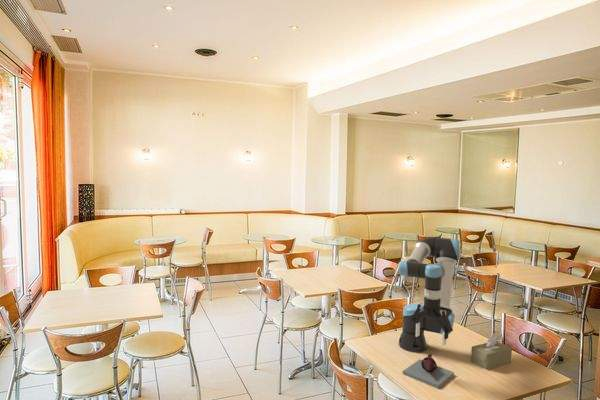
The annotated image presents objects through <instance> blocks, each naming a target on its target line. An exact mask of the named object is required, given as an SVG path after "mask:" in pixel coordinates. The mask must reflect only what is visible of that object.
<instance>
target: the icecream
mask: <svg viewBox="0 0 600 400" xmlns="http://www.w3.org/2000/svg"><path fill="white" fill-rule="evenodd" d="M432 356H433V355H432V353H429V354H427V356H426V357H424V358H423V359H421V360H422V362H421V364H422V368H423V369H424V370H426V371H427V372H433V371H434V370H436V368H437V366H438V364H437V361H436V360H435V359H434V358H433V357H432Z"/></svg>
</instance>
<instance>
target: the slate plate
mask: <svg viewBox="0 0 600 400" xmlns="http://www.w3.org/2000/svg"><path fill="white" fill-rule="evenodd" d="M422 360H423V359H418V360H416V361H415V362H414V363H412V364H410V365H409V366H407V367H406V368H405V369H404V370H402V375H404V376H407V377H409V378H411V379H414V380H416V381H419V382H421V383H424V384H426V385H429V386H431V387H433V388H436V389H440V388H441V387H442V386H443V385H444V384H445V383H446V382H448V381H449V380H451V378H452V377H454V376H455V372H454V371H452V370H449V369H447V368H443V367H441V366H439V365H437V368H436V370H434V371H433V372H427V371H426V370H424V369H423V368H422V364H421V362H422Z"/></svg>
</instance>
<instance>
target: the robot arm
mask: <svg viewBox="0 0 600 400" xmlns="http://www.w3.org/2000/svg"><path fill="white" fill-rule="evenodd" d="M459 241H460V240H458V239H456V238H451V237H450V238H448V237H447V238H446V237H435V236H429V237H428V236H427V237H426V238H422V239H420V240H418V241H417V242H416V243H415V244H414V246H413V249H412V250H413V251H412V252H411V254H410V255H409V257H408V259H407V260H401V261H399V264H398V275H400V276H403V277H410V278H415V279H417V278H418V279H424V292H423V294H424V297H423V303H409V304H406V305H405V306H404V307H403V308H402V309H403V310H402V312H403V313H402V331H401V333H400V337H399V339H398V346H399V347H400V348H401V349H403V350H405V351H408V352H412V353H414V352H415V353H419V352H424V351H426V350H427V340H426V336H425V332H430V333H435V334H440V335H442V339H441V340H442V342H441V346H442V347H444V346H446V345H447V340H448V339H449V335H450V334H451V333H452V332H453V331H454V329H453V327H454V323H455V318H456V317H455V313H454V312H453V309H452V308H451V295H452V286H453V276H454V267H455V265H456V264H457V263H458V261H459V260H461V249H460V247H461V245H460V242H459ZM428 257H432V258H435V261H436V263H435V262H434V263H424V262H425V259H426V258H428Z"/></svg>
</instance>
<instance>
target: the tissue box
mask: <svg viewBox="0 0 600 400" xmlns="http://www.w3.org/2000/svg"><path fill="white" fill-rule="evenodd" d="M501 338H502V336H500V335H499V334H496V333H495V332H494V333H492V334H491V335H490V337H489V339H487V342H485V343H481V344H478V345H472V346H471V351H470V352H471V353H470V355H471V356H470V362H472V363H473V364H475V365H477V366H479V367H481V368H483V369H484V370H489V369H490V370H491V369H494V368H497V367H501V366H504V365H508V364H511V363H512V353H513V352H512V351H513V348H512V347H511V346H508V345H507V344H505V343H502V342H500V341H499V340H500V339H501Z"/></svg>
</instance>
